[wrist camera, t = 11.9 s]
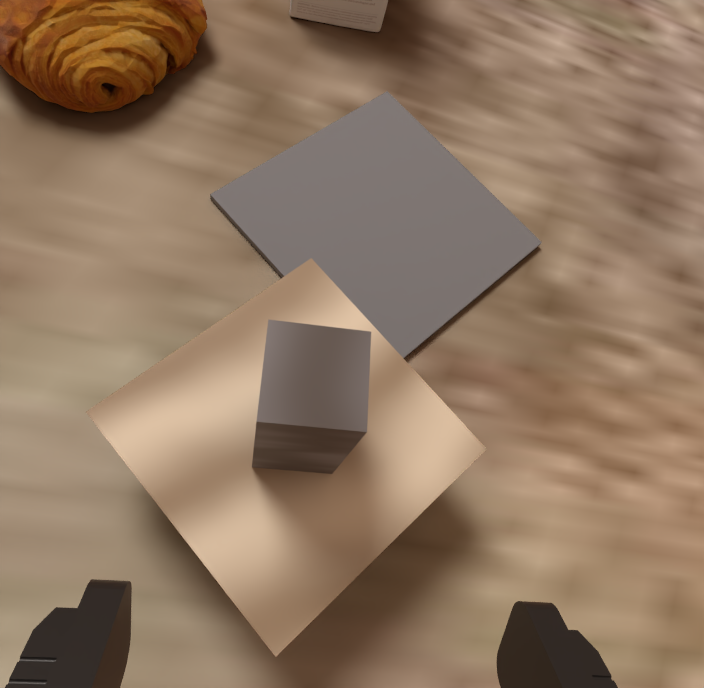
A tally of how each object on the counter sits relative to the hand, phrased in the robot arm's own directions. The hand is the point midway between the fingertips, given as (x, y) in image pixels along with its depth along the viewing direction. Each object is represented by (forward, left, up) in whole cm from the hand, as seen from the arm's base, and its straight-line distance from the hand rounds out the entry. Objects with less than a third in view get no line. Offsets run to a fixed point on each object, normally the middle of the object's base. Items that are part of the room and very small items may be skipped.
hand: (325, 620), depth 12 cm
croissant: (-37, +14, -20) cm, 44 cm away
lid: (-5, +5, -14) cm, 16 cm away
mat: (-13, +20, -19) cm, 31 cm away
